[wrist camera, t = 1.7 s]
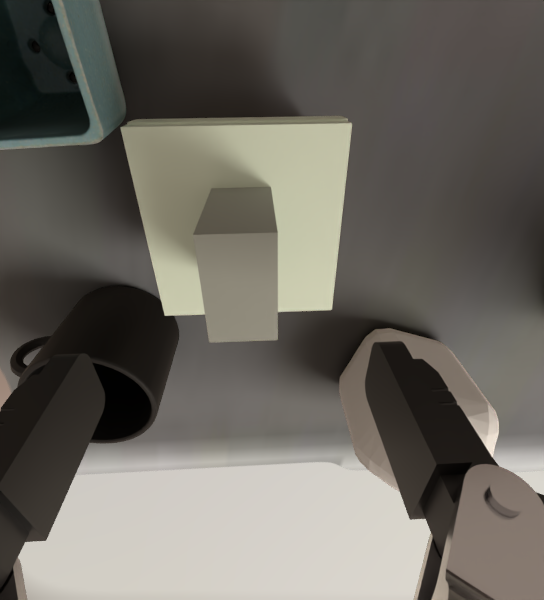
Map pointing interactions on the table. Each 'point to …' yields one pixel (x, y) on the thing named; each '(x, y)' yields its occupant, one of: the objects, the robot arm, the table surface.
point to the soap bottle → (449, 369)
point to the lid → (241, 215)
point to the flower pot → (56, 75)
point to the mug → (114, 355)
